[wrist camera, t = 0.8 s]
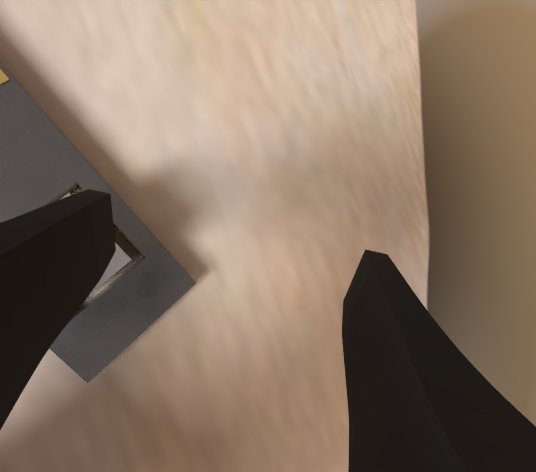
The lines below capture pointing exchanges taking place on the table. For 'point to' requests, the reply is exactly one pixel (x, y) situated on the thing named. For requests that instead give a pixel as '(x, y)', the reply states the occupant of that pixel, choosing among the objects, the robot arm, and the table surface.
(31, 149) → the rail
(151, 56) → the table surface
